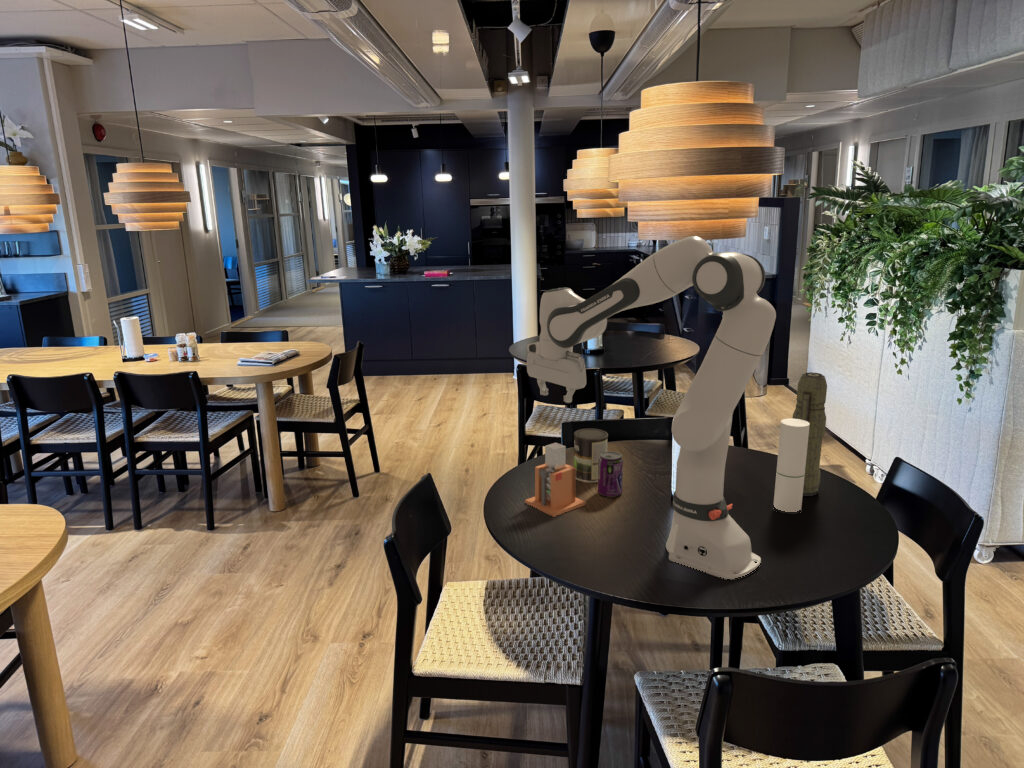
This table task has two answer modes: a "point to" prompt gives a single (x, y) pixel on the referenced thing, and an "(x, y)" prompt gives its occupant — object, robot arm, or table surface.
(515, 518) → the table surface
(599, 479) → the beverage can
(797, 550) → the table surface
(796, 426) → the cylindrical container
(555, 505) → the stand base
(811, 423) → the thermos
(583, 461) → the coffee can
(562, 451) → the column
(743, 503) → the table surface
